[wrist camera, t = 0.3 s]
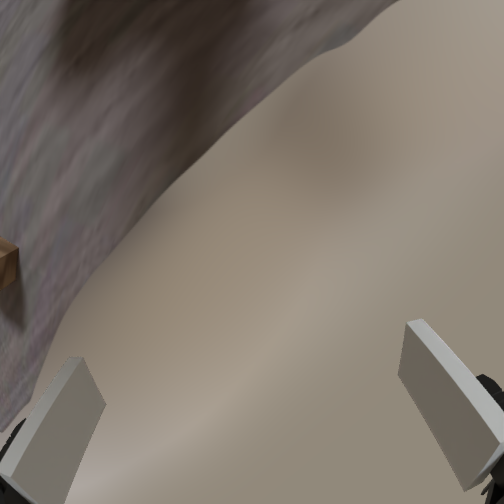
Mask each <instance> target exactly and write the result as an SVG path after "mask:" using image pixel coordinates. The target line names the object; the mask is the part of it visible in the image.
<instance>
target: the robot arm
mask: <svg viewBox="0 0 504 504" xmlns="http://www.w3.org/2000/svg"><path fill="white" fill-rule="evenodd" d="M398 376H399V378H400V379H401V381H402V383H403V384H404V386H405V387H406V389H407V391H408V392H409V394H410V396H411V397H412V399H413V401H414V402H415V404H416V406H417V407H418V409H419V411H420V412H421V414H422V416H423V418H424V419H425V421H426V423H427V425H428V426H429V428H430V430H431V431H432V433H433V435H434V437H435V438H436V440H437V442H438V444H439V446H440V447H441V449H442V451H443V453H444V455H445V456H446V458H447V460H448V462H449V464H450V466H451V467H452V469H453V471H454V473H455V475H456V477H457V479H458V481H459V483H460V485H461V486H462V488H463V490H464V492H465V491H467V490H469V489H471V488H473V487H475V486H477V485H478V484H480V483H482V482H483V481H484V479H485V478H486V477H487V476H488V475H489V473H490V474H491V475H492V477H493V479H492V480H491V482H490V483H489V484H488V485H487V486H486V487H485V488H484V489H483V491H482V493H481V495H484V494H485V493H486V492H487V491H488V494H487V498H486V502H485V504H504V392H502V389H501V388H500V387H499V386H498V384H497V383H496V382H495V381H494V380H492V379H491V378H489V377H487V376H485V375H484V374H481V375H479V376H477V377H475V376H474V375H473V374H472V373H471V372H470V370H469V369H468V368H467V367H466V366H465V365H464V364H463V362H462V361H461V360H460V359H459V358H458V357H457V356H456V355H455V353H454V352H453V351H452V350H451V349H450V348H449V347H448V346H447V345H446V344H445V342H444V341H443V340H442V339H441V338H440V337H439V336H438V335H437V334H436V333H435V332H434V331H433V330H432V329H431V327H430V326H429V325H428V324H427V323H426V322H425V321H424V320H423V319H418V320H414V321H409V322H406V327H405V335H404V341H403V348H402V354H401V360H400V365H399V371H398ZM105 406H106V403H105V401H104V399H103V397H102V395H101V393H100V392H99V390H98V388H97V386H96V384H95V382H94V380H93V378H92V375H91V373H90V371H89V369H88V367H87V365H86V363H85V361H84V358H83V357H69V358H68V359H67V361H66V362H65V364H64V365H63V366H62V368H61V369H60V371H59V372H58V373H57V375H56V376H55V378H54V379H53V380H52V382H51V383H50V385H49V386H48V388H47V389H46V391H45V392H44V394H43V395H42V397H41V398H40V400H39V401H38V402H37V404H36V406H35V407H34V409H33V410H32V412H31V413H30V415H29V416H28V418H27V419H26V418H25V419H24V420H22V421H21V422H20V423H19V424H18V425H17V426H16V427H15V429H14V430H13V432H12V433H11V437H9V439H8V440H7V441H6V444H5V445H4V446H3V448H2V450H1V451H0V504H64V503H65V500H66V497H67V495H68V492H69V489H70V487H71V484H72V482H73V479H74V477H75V474H76V472H77V470H78V467H79V465H80V462H81V460H82V458H83V455H84V453H85V450H86V448H87V446H88V443H89V441H90V439H91V436H92V434H93V432H94V430H95V428H96V425H97V423H98V421H99V419H100V416H101V414H102V412H103V410H104V408H105Z"/></svg>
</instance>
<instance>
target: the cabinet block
mask: <svg viewBox="0 0 504 504" xmlns="http://www.w3.org/2000/svg"><path fill="white" fill-rule="evenodd" d="M18 249H19V248H18V247H17V246H15V245H13V244H12V243H10V242H8V241H7V240H5V239H4V238H2V237H0V291H1V290H2V289H3V288H5V287H6V286H8V285H9V284H11V283H12V282H13V281H15V277H16V266H17V257H18Z"/></svg>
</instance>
